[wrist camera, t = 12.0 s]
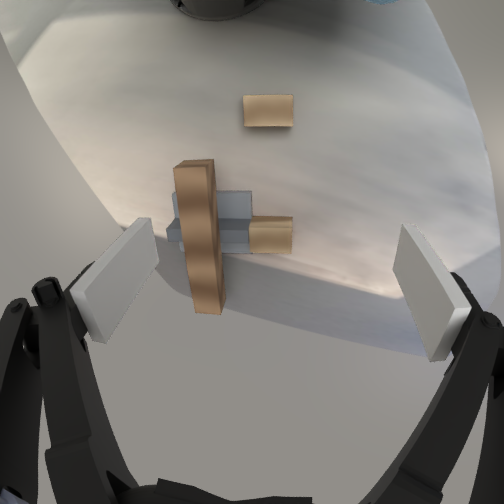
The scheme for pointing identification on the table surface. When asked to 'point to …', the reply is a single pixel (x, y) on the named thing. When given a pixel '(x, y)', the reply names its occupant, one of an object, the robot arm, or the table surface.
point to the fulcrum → (223, 221)
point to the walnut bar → (201, 233)
